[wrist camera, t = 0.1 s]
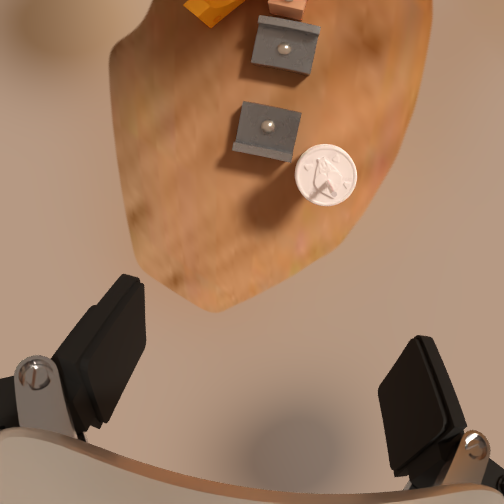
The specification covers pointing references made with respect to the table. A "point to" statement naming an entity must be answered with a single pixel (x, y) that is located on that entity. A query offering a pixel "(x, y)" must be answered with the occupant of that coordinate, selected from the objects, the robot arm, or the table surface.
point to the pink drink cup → (325, 175)
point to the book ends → (283, 58)
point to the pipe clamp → (212, 9)
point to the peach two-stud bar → (288, 8)
